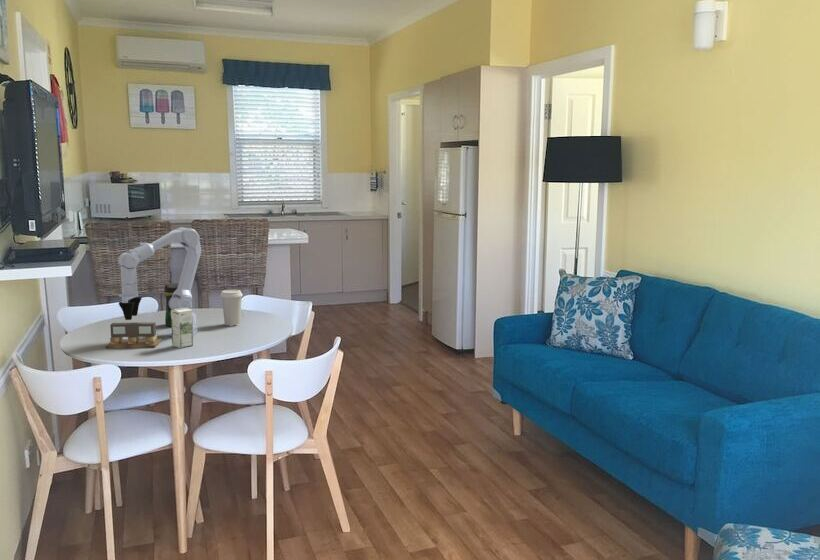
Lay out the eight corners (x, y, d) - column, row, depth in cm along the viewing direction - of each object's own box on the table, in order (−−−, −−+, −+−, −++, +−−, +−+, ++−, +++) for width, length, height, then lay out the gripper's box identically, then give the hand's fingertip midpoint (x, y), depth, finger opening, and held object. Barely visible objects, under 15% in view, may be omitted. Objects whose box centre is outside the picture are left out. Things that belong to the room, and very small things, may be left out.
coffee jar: (166, 327, 295) (164, 285, 292) (164, 324, 302) (162, 282, 299) (190, 325, 299) (188, 283, 296) (187, 322, 306) (185, 281, 304)
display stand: (161, 341, 271) (161, 332, 271) (154, 347, 261) (154, 338, 261) (114, 342, 270) (114, 333, 269) (105, 348, 260) (105, 339, 259)
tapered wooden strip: (156, 334, 267) (155, 322, 266) (153, 336, 264) (153, 324, 263) (113, 335, 266) (112, 322, 265) (110, 337, 263) (110, 324, 262)
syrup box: (185, 343, 268) (183, 307, 266) (193, 345, 265) (192, 309, 262) (171, 346, 264) (170, 309, 262) (180, 348, 260) (178, 311, 258)
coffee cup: (246, 322, 306) (245, 289, 304) (239, 327, 297) (238, 293, 295) (225, 322, 307) (224, 289, 305) (217, 326, 298) (216, 292, 295)
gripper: (124, 280, 274) (126, 314, 276) (112, 286, 259) (114, 321, 262) (142, 280, 274) (144, 313, 277) (132, 286, 260) (134, 321, 262)
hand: (131, 317), depth 269 cm, fingers open, 7 cm apart
